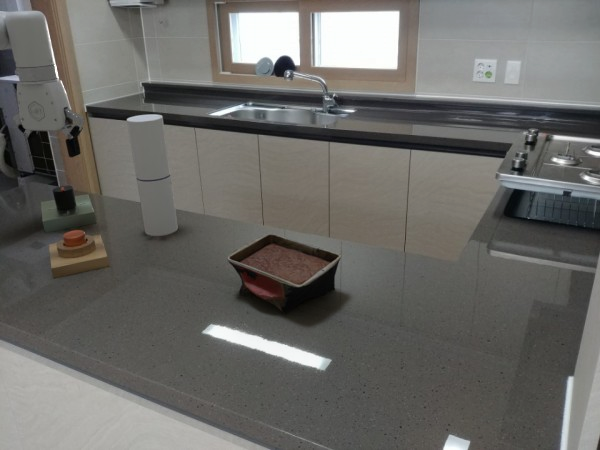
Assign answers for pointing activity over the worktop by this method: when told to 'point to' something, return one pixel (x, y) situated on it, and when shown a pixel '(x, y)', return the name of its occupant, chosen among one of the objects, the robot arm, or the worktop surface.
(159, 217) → the cylindrical container
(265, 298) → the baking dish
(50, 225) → the panel
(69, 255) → the button block
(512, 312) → the worktop surface
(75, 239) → the button
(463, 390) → the worktop surface
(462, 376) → the worktop surface
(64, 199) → the knob
